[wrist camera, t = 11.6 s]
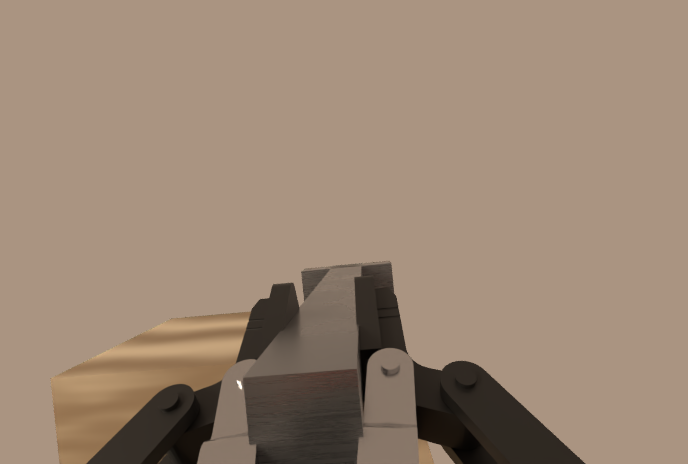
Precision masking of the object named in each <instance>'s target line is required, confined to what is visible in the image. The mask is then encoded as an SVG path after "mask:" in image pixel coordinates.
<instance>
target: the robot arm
mask: <svg viewBox="0 0 688 464" xmlns="http://www.w3.org/2000/svg"><path fill="white" fill-rule="evenodd" d="M354 283H355V305H356V325H358V324H359V338H360V353H361V361H362V369H363V377H364V385H365V403H364V424H363V437H359V442H358V455H357V464H419V451H418V439H421V440H425V441H429V442H432V443H436V444H440V445H441V446H442V447H443V449H444V450H445V451H446V453H447V454H448V455H449V457H450V458H451V459H452V460H453V461H454V463H455V464H585V463H584V462H583V461H582V460H581V459H580V458H579V457H577V455H575V454H574V453H573V452H572V451H571V450H570V449H569V448H568V447H567V446H565V445H564V443H562V442H561V441H560V440H559V439H558V438H557V437H556V436H555V435H554V434H553V433H552V432H551V431H550V430H548V429H547V428H546V427H545V426H544V425H543V424H542V423H541V422H540V421H539V420H538V419H537V418H535V417H534V416H533V415H532V414H531V413H530V412H529V411H528V410H527V409H526V408H525V407H524V406H523V405H521V404H520V403H519V402H518V401H517V400H516V399H515V398H514V397H513V396H512V395H511V394H510V393H508V392H507V391H506V390H505V389H504V388H503V387H502V386H501V385H500V384H499V383H498V382H497V381H495V380H494V379H493V378H492V377H491V376H490V375H489V374H488V373H487V372H486V371H485V370H484V369H482V368H481V367H479V366H478V365H476V364H474V363H471V362H467V361H456V362H452V363H450V364H448V365H446V366H445V367H444V368H443V370H442V371H441V370H436V369H431V368H427V367H423V366H421V365H419V364H417V363H416V362H415V361H413V360H412V359H411V358H410V356H409V355H408V353H407V350H406V346H405V341H404V336H403V330H402V324H401V319H400V314H399V309H398V303H397V298H396V295H395V294H394V293H393V292H392V291H391V290H390V288H379V289H375V285H374V277H373V275H371V276H360V277H354ZM298 311H299V305H298V300H297V296H296V291H295V287H294V284H293V283H285V284H273V286H272V289H271V294H270V298H268V299H260V300H259V301H258V302H257V303H256V305H255V306H254V307H253V308H252V311H251V313H250V317H249V322H248V324H247V327H246V331H245V334H244V337H243V340H242V344H241V347H240V351H239V354H238V357H237V361H236V364H235V365H233V366H232V367H231V368H229V369H228V371H227V372H226V373H225V375H224V377H223V379H222V380H221V381H219V382H217V383H216V384H213V385H211V386H208V387H205V388H202V389H200V390H197V391H193V389H192V388H191V387H190V386H188V385H186V384H175V385H171V386H168V387H166V388H164V389H163V390H161V391H160V392H158V393H157V394H156V395H155V396H154V397H153V398H152V399H151V400H150V401H149V402H148V403H147V404H146V405H145V406H144V407H143V408H142V409H141V410H140V411H139V412H138V413H137V414H136V415H135V416H134V417H133V418H132V419H131V420H130V421H129V422H128V423H127V424H126V425H125V426H124V427H123V428H122V429H121V430H120V431H119V432H118V433H117V434H115V435H114V436H113V437H112V438H111V439H110V440H109V441H108V442H107V443H106V444H105V445H104V446H103V447H102V448H101V449H100V450H99V451H98V452H97V453H96V454H95V455H94V456H93V457H92V458H91V459H90V460H89V461H88V462H87V463H86V464H260V463H259V457H258V451H257V444H255V445H249V436H248V426H247V415H246V405H245V395H244V385H243V377H244V375H245V374H246V373H247V372H248V371H249V369H250V368H251V367H252V366H253V364H254V363H255V362H256V361H257V359H258V358H259V357H260V356H261V354H262V353H263V352H264V351H265V349H266V348H267V347H268V346H269V344H270V343H271V342H272V341H273V340H274V338H275V337H276V336H277V335H278V333H279V332H280V331H283V330H284V329H285V327H286V326H287V325H288V323H289V322H290V321H291V320H292V318H293V317H294V316H295V315H296V313H297V312H298ZM165 454H166V455H165ZM161 459H162V460H161ZM160 460H161V461H160ZM159 461H160V462H159Z"/></svg>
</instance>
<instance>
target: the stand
mask: <svg viewBox="0 0 688 464" xmlns="http://www.w3.org/2000/svg"><path fill="white" fill-rule="evenodd" d="M250 313H251V312H242V313H231V314H219V315H208V316H198V317H185V318H174V319H170V320H168V321H166V322H164V323H162V324H160V325H158V326H156V327H154V328H152V329H150V330H148V331H146V332H144V333H142V334H140V335H138V336H136V337H134V338H132V339H130V340H128V341H126V342H124V343H122V344H120V345H118V346H116V347H114V348H112V349H110V350H107V351H105V352H103V353H101V354H99V355H98V356H95V357H93V358H91V359H89V360H87V361H85V362H83V363H81V364H79V365H77V366H75V367H73V368H71V369H69V370H67V371H65V372H63V373H61V374H59V375H57V376H55V377H53V378H51V387H52V395H53V405H54V413H55V424H56V433H57V442H58V452H59V461H60V464H86V463H87V462H88V461H89V460H90V459H91V458H92V457H93V456H94V455H95V454H96V453H97V452H98V451H99V450H100V449H101V448H102V447H103V446H104V445H105V444H106V443H107V442H108V441H109V440H110V439H111V438H112V437H113V436H114V435H115V434H117V433H118V432H119V431H120V430H121V429H122V428H123V427H124V426H125V425H126V424H127V423H128V422H129V421H130V420H131V419H132V418H133V417H134V416H135V415H136V414H137V413H138V412H139V411H140V410H141V409H142V408H143V407H144V406H145V405H146V404H147V403H148V402H149V401H150V400H151V399H152V398H153V397H154V396H155V395H156V394H157V393H158V392H160V391H161V390H163V389H164V388H166V387H168V386H171V385H175V384H186V385H188V386H190V387H191V388H192V389H193V391H197V390H200V389H202V388H205V387H208V386H211V385H213V384H216V383H217V382H219V381H221V380H222V379H223V377H224V375H225V373H226V372H227V371H228V369H229V368H231V367H232V366H233V365H235V364H236V361H237V357H238V354H239V351H240V347H241V344H242V340H243V337H244V334H245V331H246V327H247V324H248V322H249V317H250ZM418 451H419V464H434V462H433V459H432V456H431V453H430V449H429V446H428V443H427V441H425V440H421V439H418ZM165 455H166V454H165ZM161 460H162V459H161ZM161 460H160V461H161ZM160 461H159V462H160Z"/></svg>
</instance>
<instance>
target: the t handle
mask: <svg viewBox="0 0 688 464" xmlns="http://www.w3.org/2000/svg"><path fill="white" fill-rule="evenodd" d="M301 273H302V283H303V292H304V303H303V304H302V305H301V306H300V307H299V311H298V312H297V313H296V315H295V316H294V317H293V318H292V320H291V321H290V322H289V323H288V325H287V326H286V327H285V329H284V330H283V331H280V332H279V333H278V335H277V336H276V337H275V338H274V340H273V341H272V342H271V343H270V344H269V346H268V347H267V348H266V349H265V351H264V352H263V353H262V354H261V356H260V357H259V358H258V359H257V361H256V362H255V363H254V364H253V366H252V367H251V368H250V369H249V371H248V372H247V373H246V374H245V375H244V377H243V385H244V395H245V405H246V415H247V426H248V436H249V445H255V444H257V451H258V457H259V463H260V464H357V455H358V442H359V437H363V424H364V403H365V385H364V377H363V369H362V361H361V353H360V338H359V324H358V325H356V305H355V283H354V277H360V276H371V275H373V277H374V285H375V289H379V288H390V290H391V291H392V292H393V293H394V287H393V277H392V267H391V262H390V261H384V262H373V263H361V264H360V263H359V264H349V265H338V266H330V267H320V268H308V269H304V270H303V271H302V272H301Z"/></svg>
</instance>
